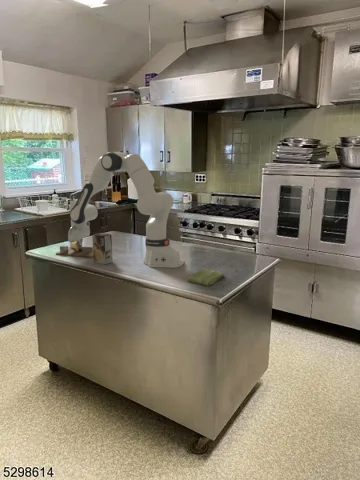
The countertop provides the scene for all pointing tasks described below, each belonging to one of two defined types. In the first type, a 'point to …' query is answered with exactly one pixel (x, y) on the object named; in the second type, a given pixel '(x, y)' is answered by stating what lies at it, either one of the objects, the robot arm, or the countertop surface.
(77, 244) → the bar
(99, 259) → the coffee box
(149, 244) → the robot arm
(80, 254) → the board
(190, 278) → the washcloth
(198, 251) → the countertop surface
